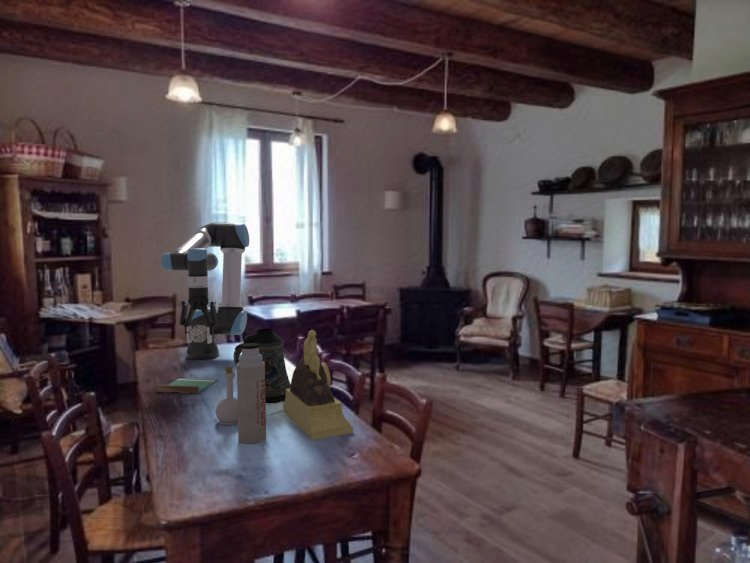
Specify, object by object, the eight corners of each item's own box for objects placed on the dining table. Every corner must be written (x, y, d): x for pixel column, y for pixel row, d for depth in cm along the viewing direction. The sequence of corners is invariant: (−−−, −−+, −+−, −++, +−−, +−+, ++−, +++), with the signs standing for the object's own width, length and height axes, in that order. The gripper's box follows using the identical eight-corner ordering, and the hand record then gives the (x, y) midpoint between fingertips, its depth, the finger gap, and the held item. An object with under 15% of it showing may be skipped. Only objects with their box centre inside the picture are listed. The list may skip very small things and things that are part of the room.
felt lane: (180, 379, 227) (180, 377, 227) (217, 380, 225) (217, 379, 225) (158, 390, 210) (158, 389, 210) (198, 392, 208) (198, 391, 208)
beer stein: (301, 397, 203) (300, 329, 200) (256, 409, 189) (255, 336, 186) (273, 388, 214) (272, 324, 212) (229, 399, 200) (227, 330, 198)
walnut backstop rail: (158, 390, 210) (158, 384, 210) (198, 392, 208) (198, 386, 208) (157, 391, 209) (156, 385, 209) (197, 393, 207) (197, 387, 207)
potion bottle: (219, 428, 171) (218, 370, 169) (213, 419, 179) (212, 364, 177) (247, 423, 175) (246, 367, 173) (240, 415, 183) (239, 361, 181)
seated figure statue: (352, 433, 167) (352, 334, 164) (312, 440, 161) (311, 338, 159) (319, 406, 192) (318, 320, 189) (283, 412, 186) (281, 323, 184)
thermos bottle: (271, 436, 164) (270, 343, 161) (252, 445, 157) (250, 348, 155) (252, 431, 168) (250, 340, 165) (232, 440, 161) (230, 345, 159)
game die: (204, 351, 228) (219, 331, 230) (196, 348, 220) (211, 327, 221) (187, 340, 230) (202, 319, 232) (179, 336, 222) (194, 315, 224)
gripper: (169, 287, 222) (170, 343, 223) (219, 287, 219) (220, 345, 221) (178, 285, 229) (179, 340, 231) (226, 286, 226) (227, 341, 228)
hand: (199, 342), depth 226 cm, fingers closed on game die, 8 cm apart
